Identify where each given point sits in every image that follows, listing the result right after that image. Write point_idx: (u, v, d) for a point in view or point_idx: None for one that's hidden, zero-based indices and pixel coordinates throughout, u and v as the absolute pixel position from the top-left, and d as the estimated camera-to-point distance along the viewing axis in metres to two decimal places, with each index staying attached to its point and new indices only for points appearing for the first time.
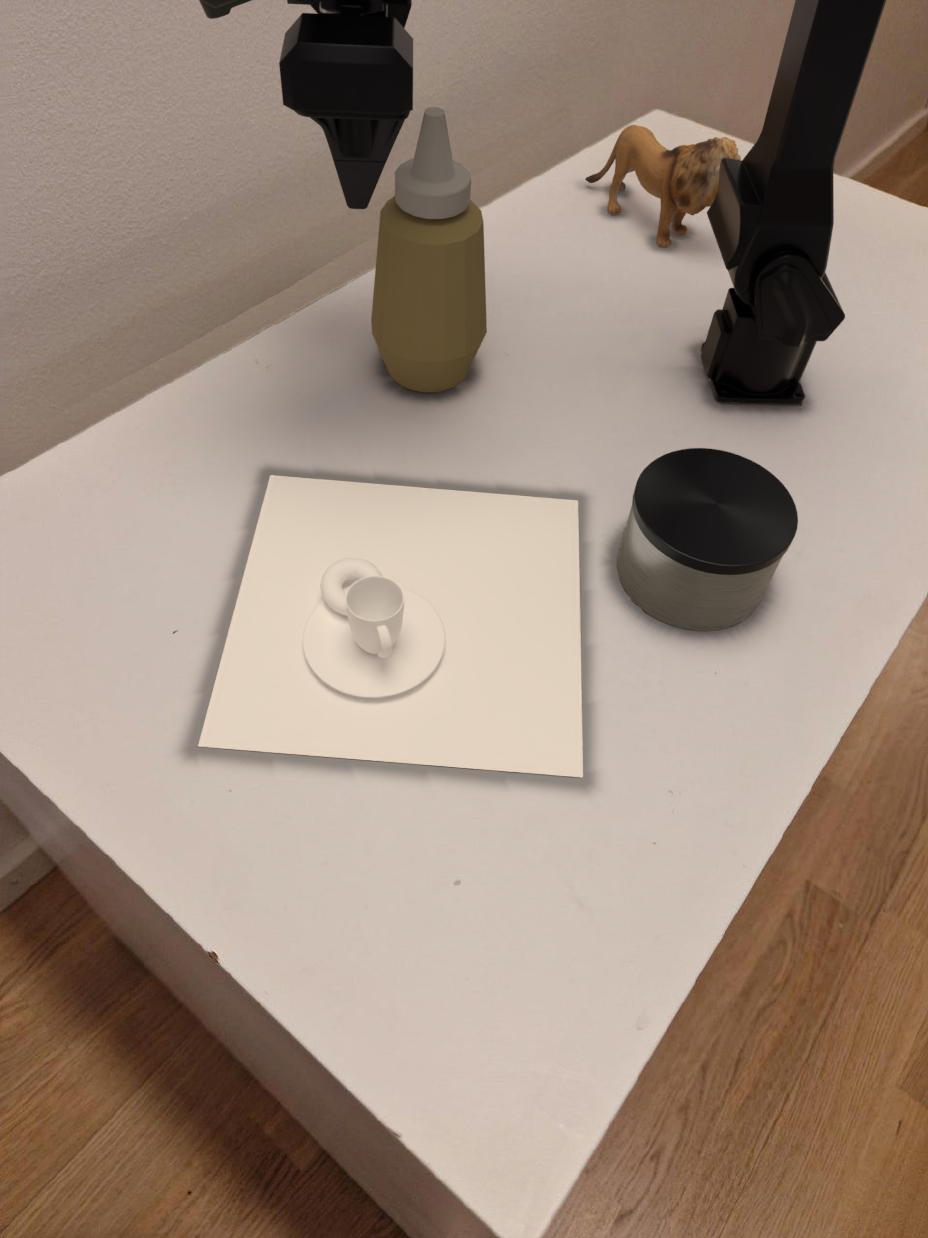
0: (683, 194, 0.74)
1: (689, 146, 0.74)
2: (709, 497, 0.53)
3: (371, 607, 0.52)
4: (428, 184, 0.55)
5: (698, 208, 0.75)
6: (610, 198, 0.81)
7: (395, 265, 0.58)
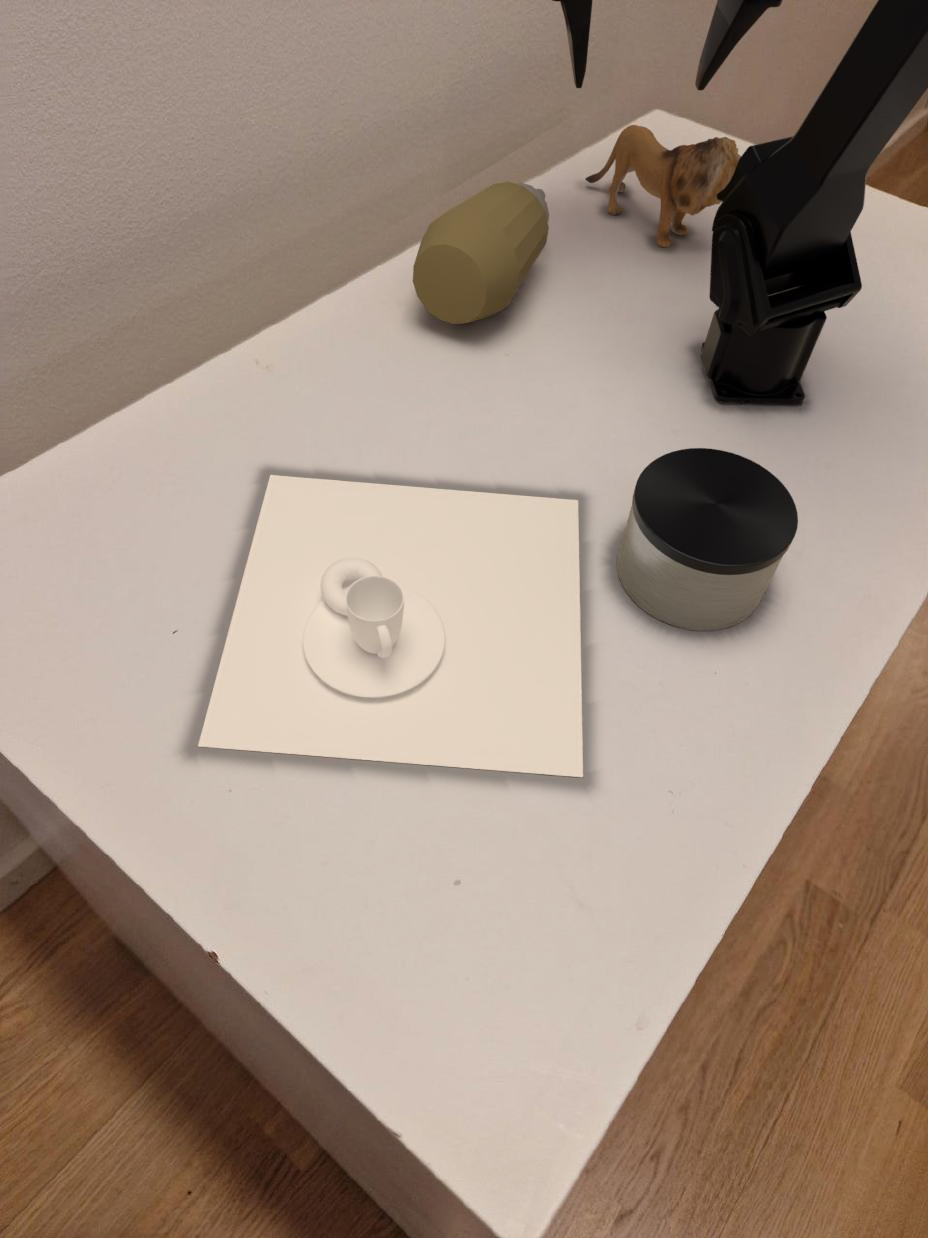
0: (683, 194, 0.74)
1: (689, 146, 0.74)
2: (709, 497, 0.53)
3: (371, 607, 0.52)
4: None
5: (698, 208, 0.75)
6: (610, 198, 0.81)
7: (490, 188, 0.71)
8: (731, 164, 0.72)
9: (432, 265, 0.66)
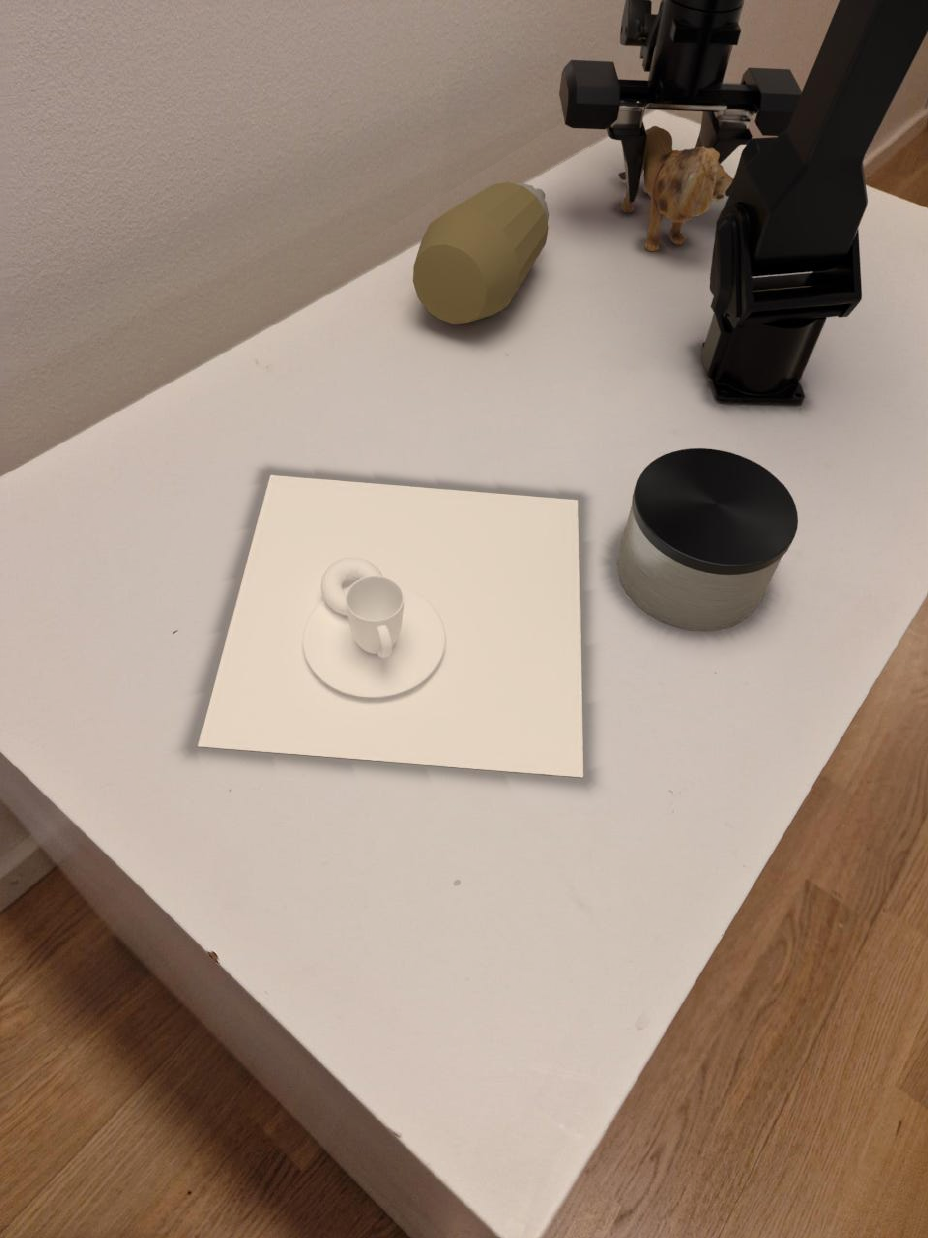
0: (662, 198, 0.74)
1: (679, 151, 0.73)
2: (709, 497, 0.53)
3: (371, 607, 0.52)
4: None
5: (676, 215, 0.74)
6: None
7: (490, 188, 0.71)
8: (706, 175, 0.71)
9: (432, 265, 0.66)
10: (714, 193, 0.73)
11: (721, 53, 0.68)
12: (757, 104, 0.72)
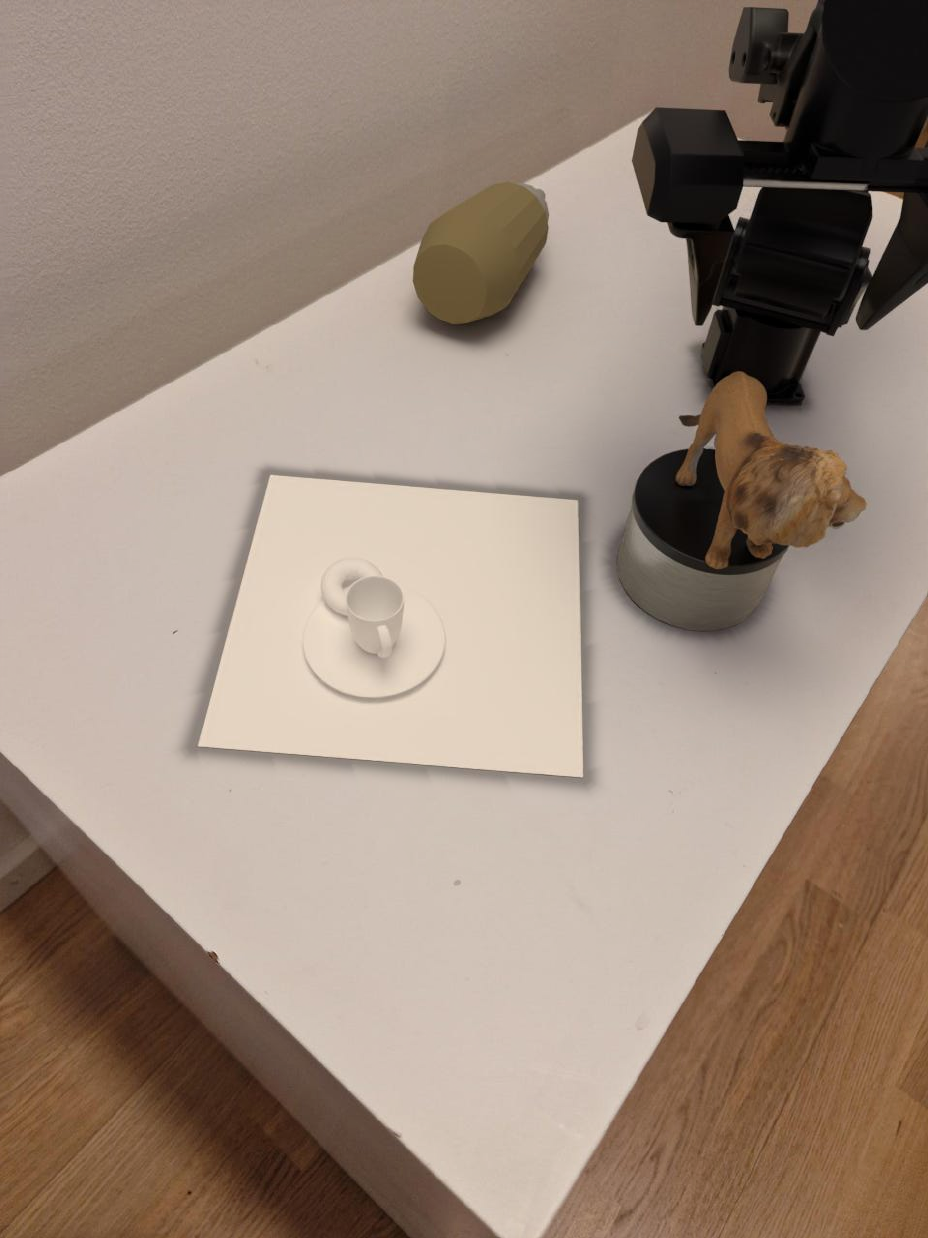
0: (740, 512, 0.45)
1: (777, 445, 0.44)
2: (709, 497, 0.53)
3: (371, 607, 0.52)
4: None
5: (762, 541, 0.45)
6: (685, 461, 0.53)
7: (490, 188, 0.71)
8: (820, 502, 0.42)
9: (432, 265, 0.66)
10: (829, 521, 0.43)
11: (925, 100, 0.39)
12: None
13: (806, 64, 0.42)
